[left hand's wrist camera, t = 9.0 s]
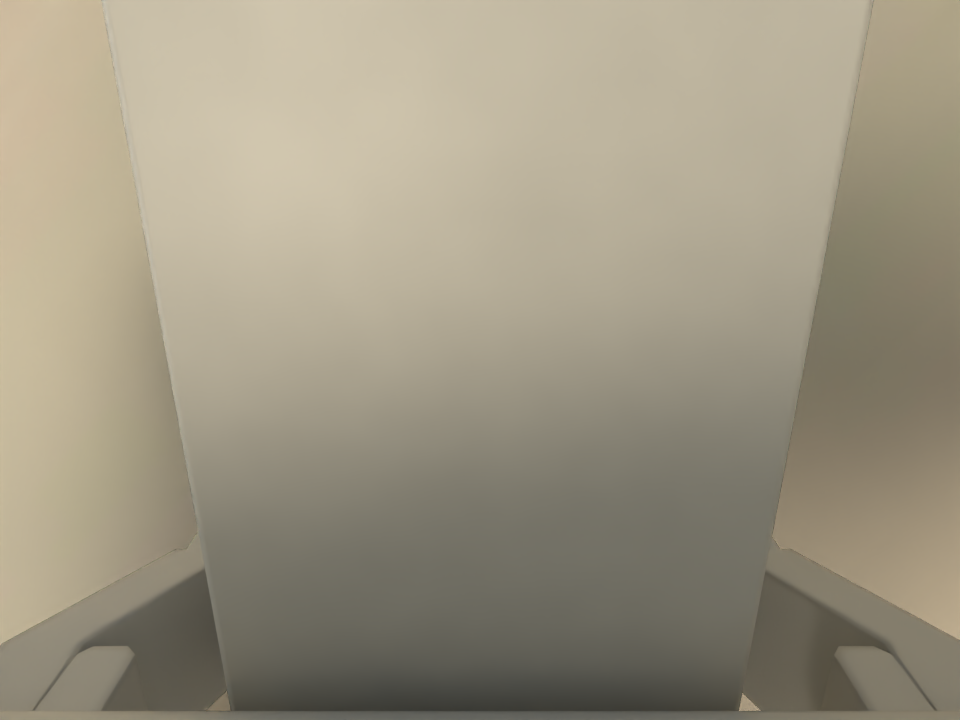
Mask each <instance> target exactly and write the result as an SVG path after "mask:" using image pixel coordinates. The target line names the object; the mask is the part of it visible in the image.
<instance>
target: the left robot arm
mask: <svg viewBox="0 0 960 720" xmlns="http://www.w3.org/2000/svg"><path fill="white" fill-rule="evenodd" d="M226 691H227V686H226V681H225V675H224V670H223V664H222V659H221V654H220V648H219V643H218V637H217V632H216V626H215V621H214V615H213V610H212V604H211V599H210V593H209V588H208V582H207V577H206V571H205V566H204V560H203V555H202V549H201V544H200V539H199V533H198V532H197V534H196V535H195V537H194V538H193V540H192V541H191V543H190V544H189V546H188V547H187V549H175V550H173V551H171V552H170V553H168V554H166V555H164V556H162V557H160V558H159V559H157V560H155V561H153V562H151V563H149V564H147V565H146V566H144V567H142V568H140V569H138V570H136V571H135V572H133V573H131V574H129V575H127V576H125V577H124V578H122V579H120V580H118V581H116V582H114V583H113V584H111V585H109V586H107V587H105V588H103V589H101V590H100V591H98V592H96V593H94V594H92V595H90V596H89V597H87V598H85V599H83V600H81V601H79V602H78V603H76V604H74V605H72V606H70V607H68V608H66V609H65V610H63V611H61V612H59V613H57V614H55V615H54V616H52V617H50V618H48V619H46V620H44V621H43V622H41V623H39V624H37V625H35V626H33V627H32V628H30V629H28V630H26V631H24V632H22V633H20V634H19V635H17V636H15V637H13V638H11V639H9V640H8V641H6V642H4V643H2V644H1V646H0V720H960V640H958V639H956V638H955V637H953V636H951V635H949V634H947V633H945V632H943V631H942V630H940V629H938V628H936V627H934V626H932V625H930V624H929V623H927V622H925V621H923V620H921V619H919V618H917V617H916V616H914V615H912V614H910V613H908V612H906V611H905V610H903V609H901V608H899V607H897V606H895V605H893V604H892V603H890V602H888V601H886V600H884V599H882V598H880V597H879V596H877V595H875V594H873V593H871V592H869V591H867V590H866V589H864V588H862V587H860V586H858V585H856V584H855V583H853V582H851V581H849V580H847V579H845V578H843V577H842V576H840V575H838V574H836V573H834V572H832V571H830V570H829V569H827V568H825V567H823V566H821V565H819V564H817V563H816V562H814V561H812V560H810V559H808V558H806V557H804V556H803V555H801V554H799V553H797V552H795V551H793V550H792V549H780V548H779V546H778V545H777V544H776V542H775V541H774V539H773V538H772V539H771V544H770V549H769V554H768V560H767V565H766V570H765V575H764V581H763V586H762V591H761V596H760V602H759V607H758V612H757V617H756V623H755V628H754V633H753V638H752V644H751V649H750V654H749V660H748V665H747V670H746V675H745V681H744V686H743V691H742V693H743V694H744V695H745V696H746V697H747V698H748V699H749V700H750V701H752V702H753V703H754V704H755V705H756V706H757V707H758V708H759V709H760V710H761V711H206V710H207V709H208V708H209V707H210V706H211V705H212V704H213V703H214V702H215V701H216V700H217V699H218V698H219V697H220V696H222V695H223V694H224V693H225V692H226Z"/></svg>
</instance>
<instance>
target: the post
mask: <svg viewBox="0 0 960 720" xmlns="http://www.w3.org/2000/svg"><path fill="white" fill-rule="evenodd" d="M101 2H102V7H103V13H104V18H105V24H106V29H107V35H108V40H109V46H110V51H111V57H112V62H113V68H114V73H115V79H116V84H117V90H118V95H119V100H120V106H121V111H122V117H123V122H124V128H125V133H126V139H127V144H128V150H129V155H130V161H131V166H132V172H133V177H134V183H135V188H136V194H137V199H138V204H139V210H140V215H141V221H142V226H143V232H144V237H145V243H146V248H147V254H148V259H149V265H150V270H151V276H152V281H153V287H154V292H155V298H156V303H157V309H158V314H159V319H160V325H161V330H162V336H163V341H164V347H165V352H166V358H167V363H168V369H169V374H170V380H171V385H172V391H173V396H174V402H175V407H176V413H177V418H178V424H179V429H180V434H181V440H182V445H183V451H184V456H185V462H186V467H187V473H188V478H189V484H190V489H191V495H192V500H193V506H194V511H195V517H196V522H197V528H198V533H199V539H200V544H201V549H202V555H203V560H204V566H205V571H206V577H207V582H208V588H209V593H210V599H211V604H212V610H213V615H214V621H215V626H216V632H217V637H218V643H219V648H220V654H221V659H222V664H223V670H224V675H225V681H226V686H227V692H228V697H229V703H230V708H231V711H739V707H740V702H741V696H742V691H743V686H744V681H745V675H746V670H747V665H748V660H749V654H750V649H751V644H752V638H753V633H754V628H755V623H756V617H757V612H758V607H759V602H760V596H761V591H762V586H763V581H764V575H765V570H766V565H767V560H768V554H769V549H770V544H771V539H772V533H773V528H774V523H775V517H776V512H777V507H778V502H779V496H780V491H781V486H782V481H783V475H784V470H785V465H786V460H787V454H788V449H789V444H790V439H791V433H792V428H793V423H794V418H795V412H796V407H797V402H798V396H799V391H800V386H801V381H802V375H803V370H804V365H805V360H806V354H807V349H808V344H809V339H810V333H811V328H812V323H813V318H814V312H815V307H816V302H817V297H818V291H819V286H820V281H821V275H822V270H823V265H824V260H825V254H826V249H827V244H828V239H829V233H830V228H831V223H832V218H833V212H834V207H835V202H836V197H837V191H838V186H839V181H840V175H841V170H842V165H843V160H844V154H845V149H846V144H847V139H848V133H849V128H850V123H851V118H852V112H853V107H854V102H855V97H856V91H857V86H858V81H859V76H860V70H861V65H862V60H863V55H864V49H865V44H866V39H867V33H868V28H869V23H870V18H871V12H872V7H873V2H874V0H101Z"/></svg>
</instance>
